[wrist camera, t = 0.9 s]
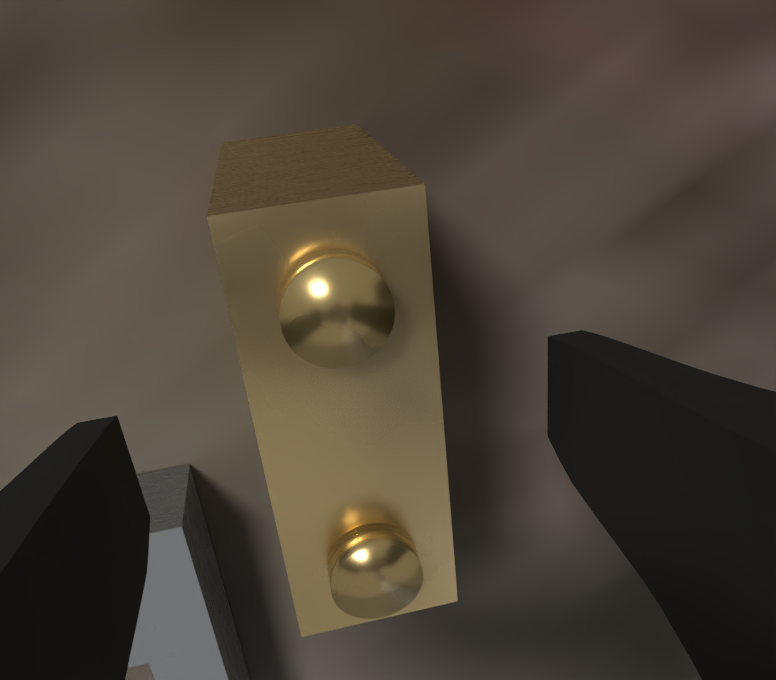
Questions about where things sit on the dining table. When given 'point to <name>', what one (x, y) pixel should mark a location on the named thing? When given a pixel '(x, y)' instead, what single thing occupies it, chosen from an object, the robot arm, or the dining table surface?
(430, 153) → the dining table surface
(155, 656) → the grey slotted frame
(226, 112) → the dining table surface
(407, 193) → the gold bar with studs
